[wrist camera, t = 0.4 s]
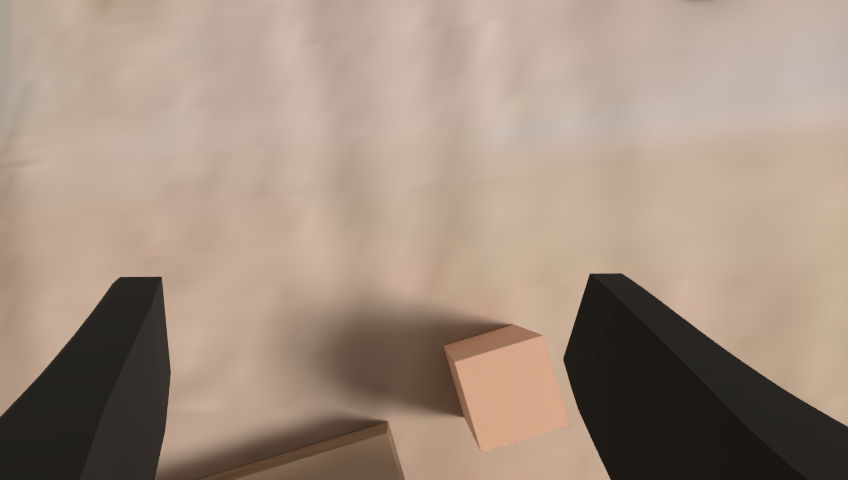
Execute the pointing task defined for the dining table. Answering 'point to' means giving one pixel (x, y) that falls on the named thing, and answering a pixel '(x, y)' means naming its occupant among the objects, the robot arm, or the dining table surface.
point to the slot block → (329, 460)
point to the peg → (506, 386)
